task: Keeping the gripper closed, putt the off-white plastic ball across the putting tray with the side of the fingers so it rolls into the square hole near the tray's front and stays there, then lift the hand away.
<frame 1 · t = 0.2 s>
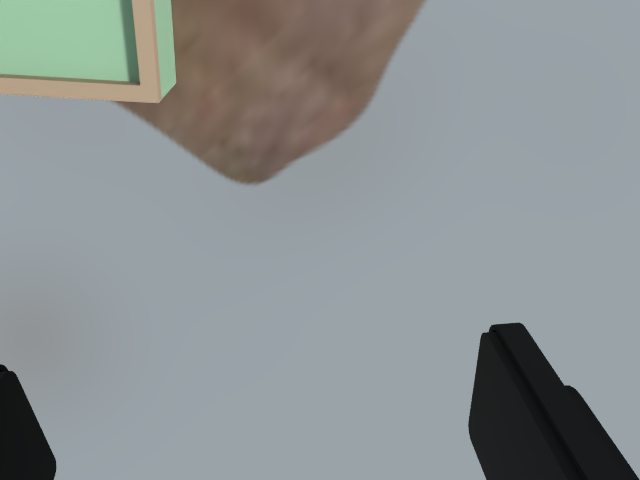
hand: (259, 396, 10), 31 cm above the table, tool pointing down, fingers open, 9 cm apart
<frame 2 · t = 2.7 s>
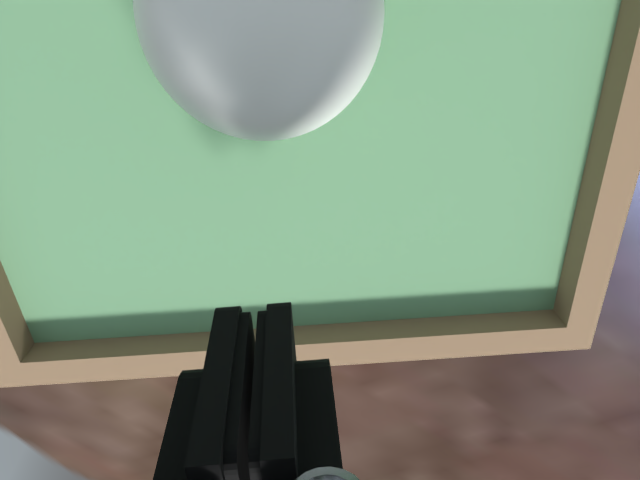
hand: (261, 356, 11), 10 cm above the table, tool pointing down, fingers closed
ball: (262, 17, 10), point 7 cm above the table, touching putting tray
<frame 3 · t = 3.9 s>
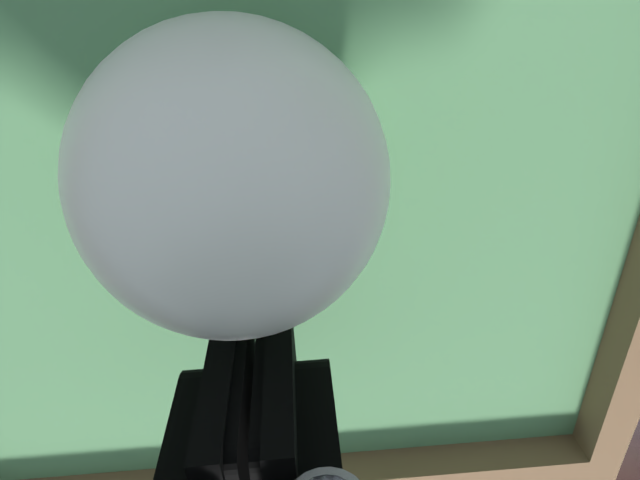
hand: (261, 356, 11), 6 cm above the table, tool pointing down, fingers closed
ball: (233, 182, 8), point 7 cm above the table, touching putting tray
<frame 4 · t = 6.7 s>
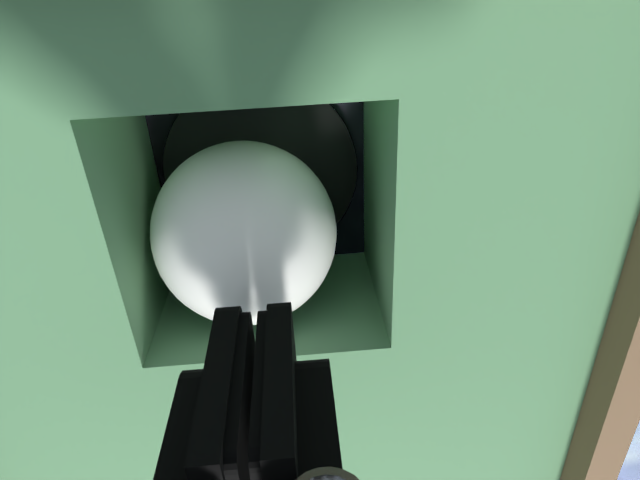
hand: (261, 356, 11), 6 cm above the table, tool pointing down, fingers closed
putting tray: (280, 341, 19), on the table
ball: (245, 233, 14), point 3 cm above the table, tilted 125°, touching putting tray
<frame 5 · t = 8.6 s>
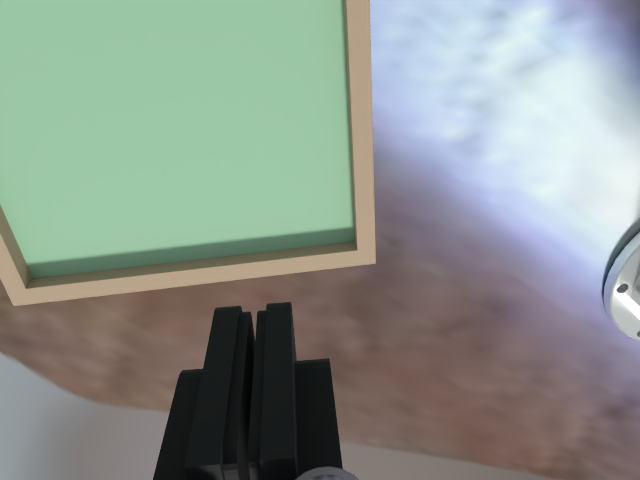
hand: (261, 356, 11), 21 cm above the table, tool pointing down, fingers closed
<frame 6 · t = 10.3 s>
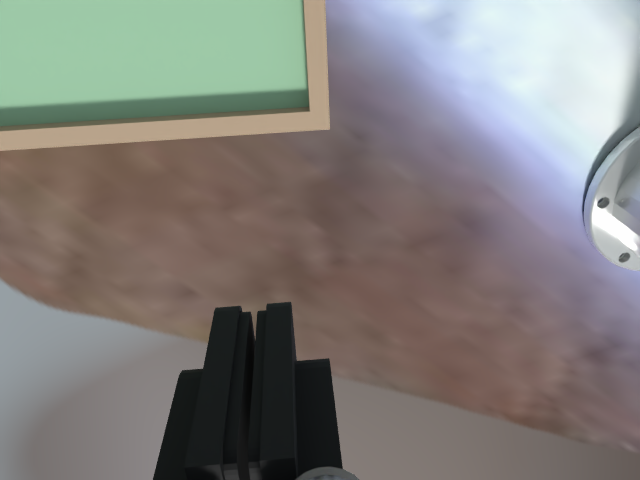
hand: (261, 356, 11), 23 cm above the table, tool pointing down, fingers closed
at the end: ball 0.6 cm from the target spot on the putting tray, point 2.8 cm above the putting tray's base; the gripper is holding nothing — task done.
